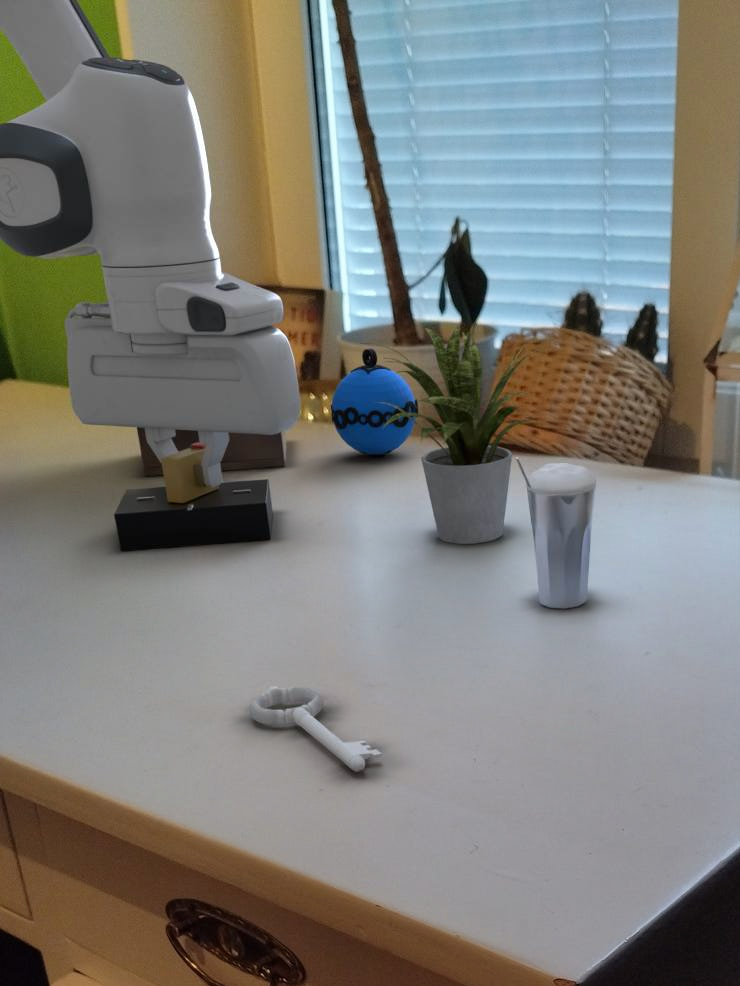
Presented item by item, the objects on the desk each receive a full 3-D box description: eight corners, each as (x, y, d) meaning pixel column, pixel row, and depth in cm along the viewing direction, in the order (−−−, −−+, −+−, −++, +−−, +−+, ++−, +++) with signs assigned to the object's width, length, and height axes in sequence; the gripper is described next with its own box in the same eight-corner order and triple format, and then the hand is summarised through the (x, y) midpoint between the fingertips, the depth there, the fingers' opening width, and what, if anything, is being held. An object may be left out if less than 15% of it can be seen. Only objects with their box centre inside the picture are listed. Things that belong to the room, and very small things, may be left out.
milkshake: (508, 598, 91) (503, 451, 86) (579, 587, 92) (578, 441, 87) (534, 618, 87) (530, 465, 82) (607, 605, 89) (607, 454, 84)
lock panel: (119, 553, 105) (112, 514, 103) (133, 522, 113) (126, 485, 111) (270, 541, 106) (265, 502, 104) (273, 512, 114) (268, 475, 112)
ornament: (317, 456, 132) (306, 351, 127) (384, 441, 137) (376, 339, 132) (370, 469, 126) (361, 359, 121) (438, 452, 131) (432, 346, 126)
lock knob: (183, 503, 106) (176, 456, 104) (167, 502, 106) (159, 455, 104) (219, 488, 110) (213, 442, 108) (203, 487, 110) (197, 441, 108)
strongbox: (144, 476, 128) (128, 382, 123) (155, 452, 137) (141, 363, 133) (285, 466, 129) (274, 372, 124) (286, 443, 138) (276, 354, 134)
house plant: (344, 526, 109) (323, 315, 101) (491, 499, 114) (483, 297, 106) (416, 569, 98) (399, 336, 90) (576, 537, 103) (574, 314, 95)
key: (304, 692, 77) (237, 707, 76) (303, 677, 77) (235, 692, 75) (397, 765, 68) (323, 785, 66) (396, 749, 68) (321, 768, 66)
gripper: (34, 307, 103) (69, 485, 109) (253, 309, 95) (277, 502, 101) (87, 296, 108) (118, 468, 114) (300, 298, 100) (319, 482, 106)
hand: (194, 484), depth 108 cm, fingers closed on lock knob, 2 cm apart
